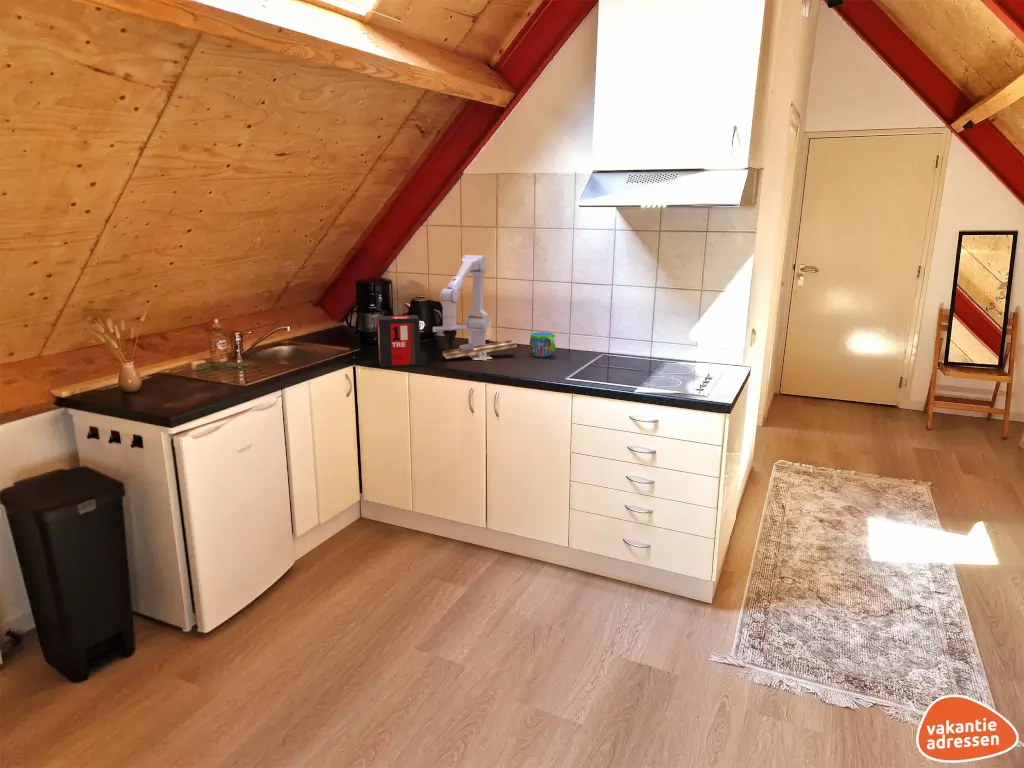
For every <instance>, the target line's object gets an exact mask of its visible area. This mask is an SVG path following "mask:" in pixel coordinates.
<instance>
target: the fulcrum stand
mask: <svg viewBox="0 0 1024 768" xmlns="http://www.w3.org/2000/svg"><path fill="white" fill-rule="evenodd" d="M469 356H470V357H471V358H472V359H471V358H470V357H469ZM467 357H469V358H470V359H471V360H473V361H474V360H483V361H488V360H487V359H492V360H493V357H491V356H490V355H489V354H487V352H482V353H479V354H473V355H467Z"/></svg>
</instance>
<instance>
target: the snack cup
mask: <svg viewBox="0 0 1024 768" xmlns="http://www.w3.org/2000/svg"><path fill="white" fill-rule="evenodd" d="M529 337H530V338H529V343H528V345H529V346H530V347H532V352H533V356H534V357H537V358H548V357H550V356H551V353H552V352H554V351H556V342H555V339H554V338H555V333H553V332H548V331H547V332H545V331H538V332H537V331H536V332H532V333H530V335H529Z"/></svg>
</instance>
